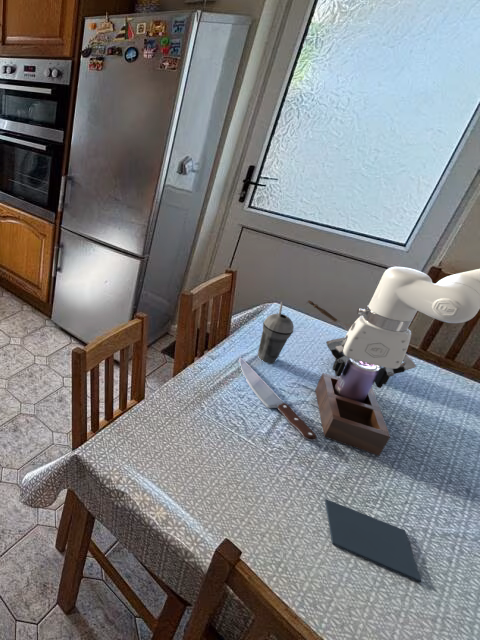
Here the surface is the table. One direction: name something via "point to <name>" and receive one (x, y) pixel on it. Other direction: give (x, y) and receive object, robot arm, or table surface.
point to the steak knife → (274, 401)
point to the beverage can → (356, 380)
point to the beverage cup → (274, 336)
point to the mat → (371, 539)
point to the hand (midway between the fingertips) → (356, 378)
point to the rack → (351, 418)
